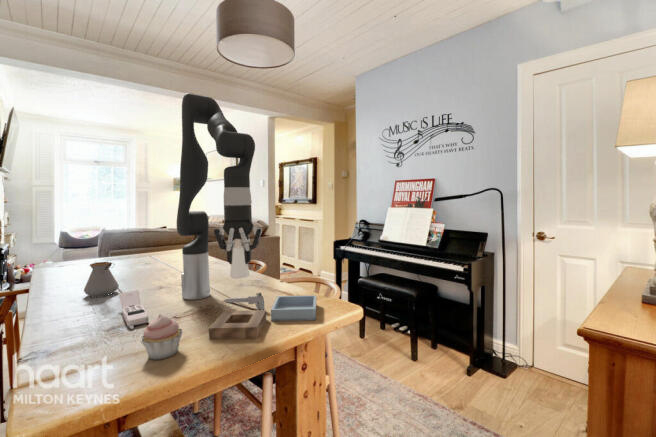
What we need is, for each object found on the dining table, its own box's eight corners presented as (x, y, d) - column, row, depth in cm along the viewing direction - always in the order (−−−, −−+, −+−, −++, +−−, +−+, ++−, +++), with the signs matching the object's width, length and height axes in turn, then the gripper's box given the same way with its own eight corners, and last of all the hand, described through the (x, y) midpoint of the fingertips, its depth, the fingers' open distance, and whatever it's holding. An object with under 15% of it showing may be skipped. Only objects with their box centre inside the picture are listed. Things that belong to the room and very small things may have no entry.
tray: (271, 321, 96) (270, 309, 96) (277, 306, 110) (277, 296, 109) (315, 320, 96) (315, 308, 96) (316, 305, 110) (316, 295, 110)
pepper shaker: (239, 279, 87) (237, 240, 86) (225, 277, 89) (224, 238, 89) (253, 275, 91) (252, 237, 90) (240, 273, 94) (239, 236, 93)
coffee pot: (81, 295, 127) (78, 258, 126) (114, 288, 135) (112, 254, 134) (94, 306, 112) (92, 265, 112) (130, 298, 121) (128, 260, 120)
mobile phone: (138, 289, 113) (150, 306, 94) (139, 305, 114) (151, 326, 94) (118, 292, 110) (126, 311, 90) (119, 309, 110) (127, 331, 90)
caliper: (264, 311, 105) (264, 293, 105) (262, 312, 104) (261, 293, 104) (225, 301, 117) (225, 284, 117) (223, 301, 116) (222, 285, 116)
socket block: (209, 339, 84) (208, 328, 84) (224, 320, 97) (224, 311, 97) (257, 338, 84) (257, 327, 84) (266, 319, 97) (266, 310, 97)
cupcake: (148, 347, 80) (146, 309, 79) (187, 343, 82) (185, 305, 82) (134, 366, 71) (132, 323, 70) (179, 360, 73) (177, 318, 72)
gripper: (207, 204, 85) (210, 266, 86) (259, 203, 85) (261, 266, 86) (217, 204, 93) (219, 261, 94) (265, 203, 93) (266, 260, 94)
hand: (239, 263), depth 90 cm, fingers closed on pepper shaker, 4 cm apart
